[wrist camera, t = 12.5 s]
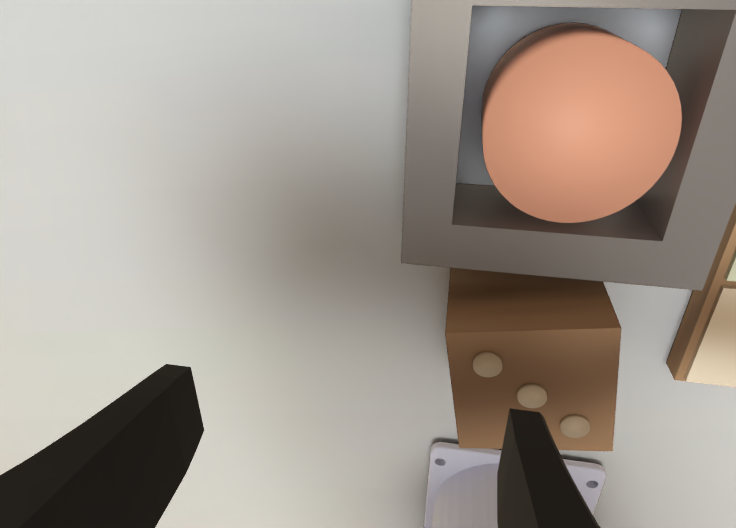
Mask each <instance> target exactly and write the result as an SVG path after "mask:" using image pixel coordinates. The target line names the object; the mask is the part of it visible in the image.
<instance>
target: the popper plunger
mask: <svg viewBox="0 0 736 528" xmlns="http://www.w3.org/2000/svg"><path fill="white" fill-rule="evenodd" d="M681 123H682V113H681V103H680V99H679V94H678V92H677V89H676V87H675V84H674V82H673V80H672V78H671V77H670V75H669V73H668V72H667V71H666V69H665V68H664V67H663V66H662V65H661V64H660V62H659V61H657V60H656V59H655V58H654V57H653V56H651V55H650V54H649V53H647V52H646V51H644V50H642V49H641V48H639V47H637V46H635V45H633V44H631V43H629V42H627V41H626V40H624V39H622V38H620V37H618V36H616V35H614V34H612V33H610V32H608V31H606V30H604V29H602V28H599V27H597V26H592V25H588V24H581V23H563V24H558V25H552V26H549V27H546V28H543V29H540V30H538V31H536V32H534V33H531V34H530V35H528V36H526V37H525V38H523V39H522V40H520V41H519V42H518V43H516V44H515V45H514V46H513V47H511V48H510V49H509V50H508V51H507V52H506V53H505V54H504V56H503V57H502V58H501V59H500V61H499V62H498V63H497V65H496V66H495V68H494V70H493V71H492V73H491V75H490V77H489V79H488V82H487V84H486V87H485V91H484V94H483V100H482V137H483V153H484V159H485V163H486V167H487V170H488V173H489V175H490V178H491V179H492V181H493V183H494V185H495V186H496V188H497V189H498V190H499V192H500V193H501V194H502V195H503V196H504V197H505V198H506V199H507V200H508V201H509V202H510V203H511V204H512V205H514V206H515V207H516V208H518V209H519V210H521V211H523V212H525V213H527V214H529V215H531V216H534V217H536V218H539V219H543V220H547V221H552V222H559V223H576V222H586V221H591V220H595V219H599V218H602V217H605V216H608V215H611V214H613V213H615V212H617V211H620V210H621V209H623V208H625V207H627V206H628V205H630V204H632V203H633V202H634V201H636V200H637V199H639V198H640V197H641V196H643V195H644V194H645V193H646V192H647V191H648V190H649V189H650V188H651V187H652V186H653V185H654V184H655V183H656V182H657V180H658V179H659V178H660V177H661V175H662V174H663V173H664V171H665V170H666V168H667V167H668V165H669V163H670V161H671V159H672V157H673V155H674V153H675V150H676V147H677V145H678V141H679V137H680V132H681Z"/></svg>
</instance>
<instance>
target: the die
mask: <svg viewBox="0 0 736 528" xmlns="http://www.w3.org/2000/svg"><path fill="white" fill-rule="evenodd" d="M445 335H446V344H447V352H448V360H449V368H450V376H451V385H452V393H453V401H454V409H455V418H456V426H457V434H458V442H459V448H485V449H502V446H503V440H504V435H505V430H506V425H507V419H508V414H509V409H510V408H512V409H519V410H527V411H535V412H540V413H541V414H542V415H543V417H544V418H545V421H546V424H547V426H548V428H549V431H550V433H551V435H552V438H553V440H554V442H555V444H556V446H557V448H558V450H583V451H613V437H614V423H615V409H616V395H617V381H618V366H619V352H620V338H621V326H620V324H619V321H618V319H617V316H616V313H615V311H614V308H613V306H612V303H611V301H610V298H609V296H608V293H607V291H606V288H605V286H604V283H603V281H592V280H581V279H570V278H559V277H548V276H537V275H526V274H515V273H504V272H493V271H482V270H471V269H460V268H451V269H450V281H449V293H448V305H447V318H446V330H445Z"/></svg>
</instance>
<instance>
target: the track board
mask: <svg viewBox="0 0 736 528" xmlns="http://www.w3.org/2000/svg"><path fill="white" fill-rule="evenodd" d="M667 365H668V367H669V369H670V371H671V374H672V376H673V378H674V380H681V381H687V382H696V383H704V384H713V385H722V386H730V387H736V203H735V206H734V209H733V211H732V214H731V216H730V219H729V222H728V224H727V227H726V230H725V232H724V235H723V237H722V240H721V243H720V245H719V248H718V250H717V253H716V256H715V258H714V261H713V264H712V266H711V269H710V271H709V274H708V277H707V279H706V282H705V284H704V287H703V290H693V293H692V296H691V298H690V301H689V304H688V306H687V309H686V312H685V314H684V317H683V320H682V322H681V325H680V328H679V330H678V333H677V336H676V338H675V341H674V344H673V347H672V349H671V352H670V355H669V357H668V360H667Z"/></svg>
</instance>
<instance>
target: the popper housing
mask: <svg viewBox="0 0 736 528" xmlns="http://www.w3.org/2000/svg"><path fill="white" fill-rule="evenodd" d="M472 5H480V6H538V7H596V8H654V9H682V13H681V17H680V20H679V24H678V28H677V31H676V35H675V39H674V42H673V46H672V49H671V53H670V57H669V60H668V64H667V68H666V71H667V72H668V73H669V75H670V77H671V78H672V80H673V82H674V84H675V87H676V89H677V92H678V94H679V99H680V103H681V113H682V123H681V132H680V137H679V141H678V145H677V147H676V150H675V153H674V155H673V157H672V159H671V161H670V163H669V165H668V167H667V168H666V170H665V171H664V173H663V174H662V175H661V177H660V178H659V179H658V180H657V182H656V183H655V184H654V185H653V186H652V187H651V188H650V189H649V190H648V191H647V192H646V193H645V194H644V195H643V196H641V197H640V198H639V199H637V200H636V201H634V202H633V203H632V204H630V205H628V206H627V207H625V208H623V209H621V210H620V211H617V212H615V213H613V214H611V215H608V216H605V217H602V218H599V219H595V220H591V221H586V222H576V223H559V222H552V221H547V220H543V219H539V218H536V217H534V216H531V215H529V214H527V213H525V212H523V211H521V210H519V209H518V208H516V207H515V206H514V205H512V204H511V203H510V202H509V201H508V200H507V199H506V198H505V197H504V196H503V195H502V194H501V193H500V192H499V190H498V189H497V188H496V186H487V185H472V184H457V183H456V174H457V164H458V153H459V142H460V131H461V121H462V110H463V99H464V88H465V77H466V67H467V56H468V45H469V34H470V24H471V13H472ZM735 203H736V0H412V9H411V33H410V57H409V82H408V106H407V130H406V155H405V179H404V203H403V227H402V252H401V263H406V264H417V265H427V266H438V267H449V268H460V269H471V270H482V271H493V272H504V273H515V274H526V275H537V276H548V277H559V278H570V279H581V280H592V281H603V282H614V283H625V284H636V285H647V286H658V287H669V288H680V289H691V290H703V287H704V284H705V282H706V279H707V277H708V274H709V271H710V269H711V266H712V264H713V261H714V258H715V256H716V253H717V250H718V248H719V245H720V243H721V240H722V237H723V235H724V232H725V230H726V227H727V224H728V222H729V219H730V216H731V214H732V211H733V209H734V206H735Z"/></svg>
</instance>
